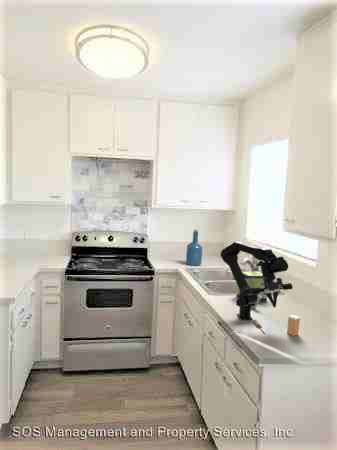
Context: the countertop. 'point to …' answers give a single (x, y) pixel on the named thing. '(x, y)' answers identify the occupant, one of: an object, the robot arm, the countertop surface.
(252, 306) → the lighter
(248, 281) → the protein box
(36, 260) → the countertop surface
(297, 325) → the lidded box
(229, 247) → the robot arm
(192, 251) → the wine bottle
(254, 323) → the wooden handled tool
